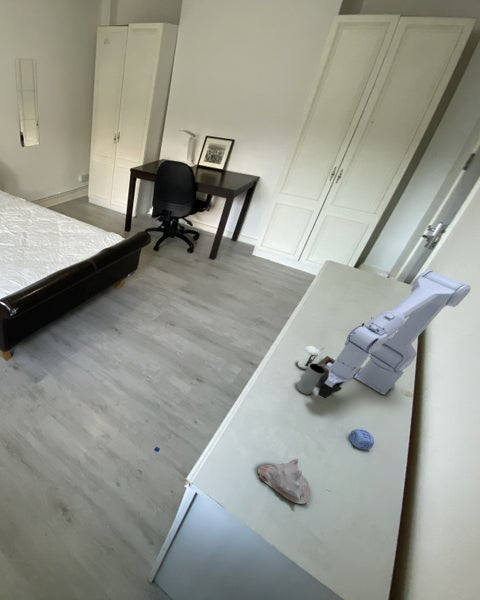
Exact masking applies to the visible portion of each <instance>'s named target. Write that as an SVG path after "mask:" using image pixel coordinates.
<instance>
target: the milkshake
mask: <svg viewBox="0 0 480 600" xmlns="http://www.w3.org/2000/svg"><path fill="white" fill-rule="evenodd" d="M324 349H325V347H322V348H321V349H318V347H315V346H314V345H306V346H305V347H304V348H303V351H302V354H301V355H300V357H299V360H298V361H297V366H298V368H300V369H302V370H307V368H308V367H309V365H310V364H312V363H313V362H314V361H315V360H316V359H317V357H318V356H319V355H320V353H321V351H322V350H324Z"/></svg>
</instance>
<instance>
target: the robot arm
mask: <svg viewBox="0 0 480 600" xmlns="http://www.w3.org/2000/svg"><path fill="white" fill-rule="evenodd" d="M471 289H472V288H471V285H470V284H468V283H467V284H466V283H464V282H461V281H458V280H456V279H454V278H451V277H449V276H447V275H444V274H441V273H439V272H436V271H434V270H433V269H427V270H425V271H422V273H420V274H419V275H418V276H417V277H416V278H415V279H414V281H413V282H412V286H411V288H410V294H409V295H407V296H406V297H404V299H403V300H401V302H399V303H398V305H396V306H395V307H394V308H392V310H391V309H390V310H389V309H387V310H383V311H381V312H380V313H379V314H377V315H376V316H375V317H373V318H372V320H370V321H368V322H367V323H364V326H361V325H357V326H356V327H354V328H353V329H352V330H351V331H350V332H349V333H348V335H347V336H346V340H345V342H344V345H345V346H344V347H343V349H342V350H341V351H340V353H339V354H338V356H337V357H336V359H334V360H335V362H334V363H333V364H332V363H328V364H327V365H326V364H325V368H327V369H329V375H328V378H327V377H326V376H324V375H323V376H322V377H321V378H320V388H318V394H317V395H318V396H319V397H321V398H323V399H327V398H328V397H330V396H331V395H332V394H334V393H337V392H339V391H341V390H342V389H343V387H341V385H343V383H345V382H349V381H352V380H353V378H354V379H355V380H357V381H359V382H360V383H362V384H364V385H366V386H368V387H369V388H371V389H372V390H374V391H376V392H378V393H380V394H381V395H383V396H384V395H386V394H387V393H388V391H389V390H392V389H393V388H394V387H395V386H396V383H397V381H398V380H399V379H400V378H401V377H402V376H403V375H404V373H405V371H404V370H406V369H407V368H408V367H409V366H411V364H412V363H413V362H414V359H415V358H416V357H417V355H418V353H417V350H416V349H415V348H414V346H413V344H414V342H415V341H416V340H417V338H418V337H419V336H420V335H421V334H422V333H423V332H424V331H425V329H426V328H427V327H428V326H429V325H430V324H431V322H432V321H433V320H434V319H435V318H436V317H437V315H438V314H439V313H440V312H441V311H442V310H443V309H444V308H445V307H447V306H448V307H452V308H456V307H457V306H459V304H460V303H461V302H462V301H463V300H464V299H465V298H466V297H467V296H468V295H469V293H471ZM394 332H396V334H395V335H394V336H390V335H392V334H393V333H394ZM368 357H369V359H368ZM367 359H368V361H367ZM366 361H367V362H366ZM365 362H366V363H365ZM364 363H365V365H364V366H363V364H364ZM362 366H363V367H362Z"/></svg>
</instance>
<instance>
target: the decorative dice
mask: <svg viewBox="0 0 480 600" xmlns="http://www.w3.org/2000/svg"><path fill="white" fill-rule="evenodd" d="M349 440H350V442H351V444H352V445H353V446H354V447H356V448H358V449H359V450H370V449H372V448H373V447H374V446H375V438H374V436H373V434H371V433H370V432H369V431H368V430H366V429H362V428H355V429H353V430H351V431H350V432H349Z"/></svg>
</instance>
